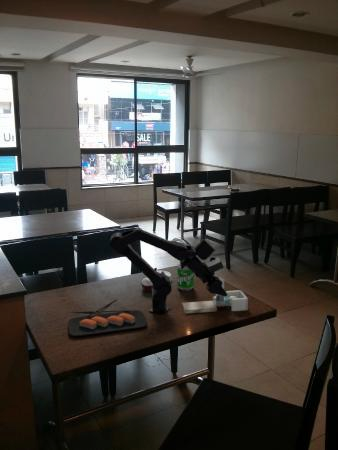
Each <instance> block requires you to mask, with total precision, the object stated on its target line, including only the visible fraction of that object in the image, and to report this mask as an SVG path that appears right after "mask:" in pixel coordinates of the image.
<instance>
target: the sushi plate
mask: <svg viewBox="0 0 338 450" xmlns="http://www.w3.org/2000/svg"><path fill="white" fill-rule="evenodd" d="M117 300H118V299H114V300H113V301H110V302H109V303H108V304H106V305H104V306H102V307H100V308H99V309H97V310H94V311H93V310H90V311H71V312H70V313H73V314H88V315H85V316H77V317H72V318H70V319H69V320H68V322H67V323H68V324H67V326H68V327H67V328H68V333H69V335H70V336H72V337H81V336H82V337H83V336H89V335H96V334H98V335H99V334H105V333H106V334H107V333H113V332H120V331H127V330H134V329H141V328H144V327H147V325H148V321H147V318H146V316H145V314H144V313H143V311H141V310H137V309H136V310H135V309H134V310H127V309H126V310H103V309H105V308H107V307H109V306H110V305H112V304H113V303H115V302H116V301H117ZM97 313H99V314H97Z"/></svg>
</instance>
